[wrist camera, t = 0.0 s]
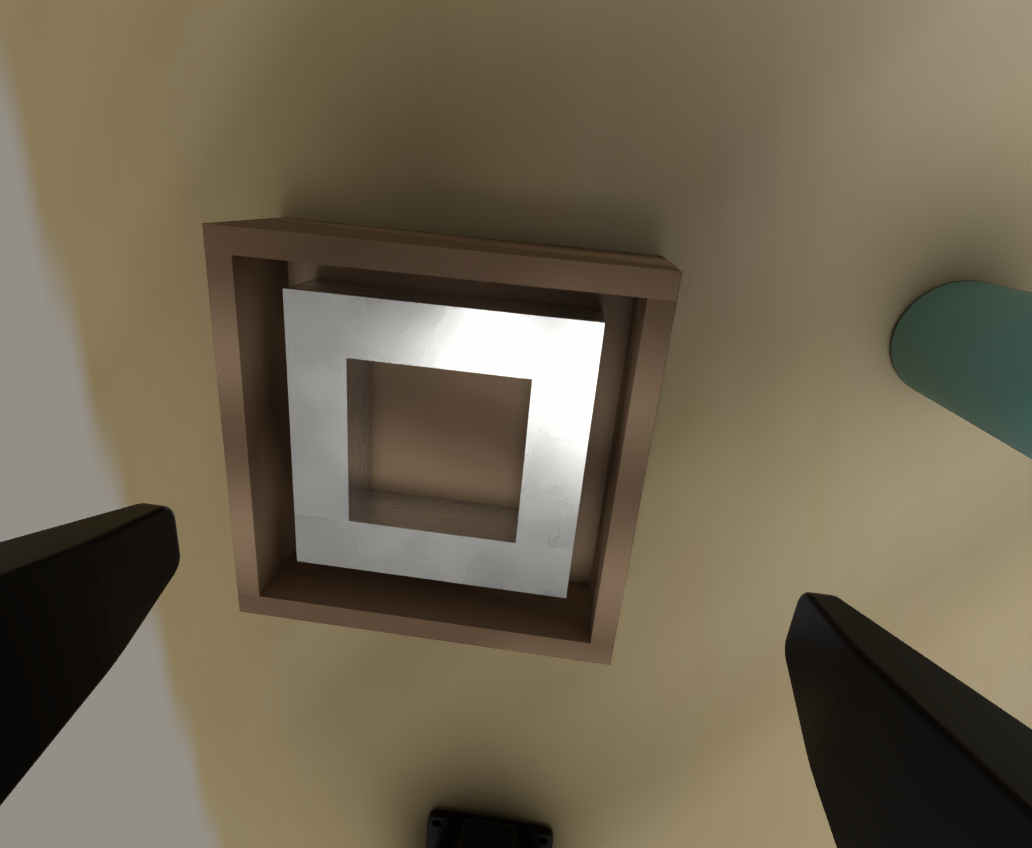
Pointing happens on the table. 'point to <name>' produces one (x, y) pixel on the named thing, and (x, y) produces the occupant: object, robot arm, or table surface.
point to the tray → (436, 428)
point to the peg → (972, 356)
